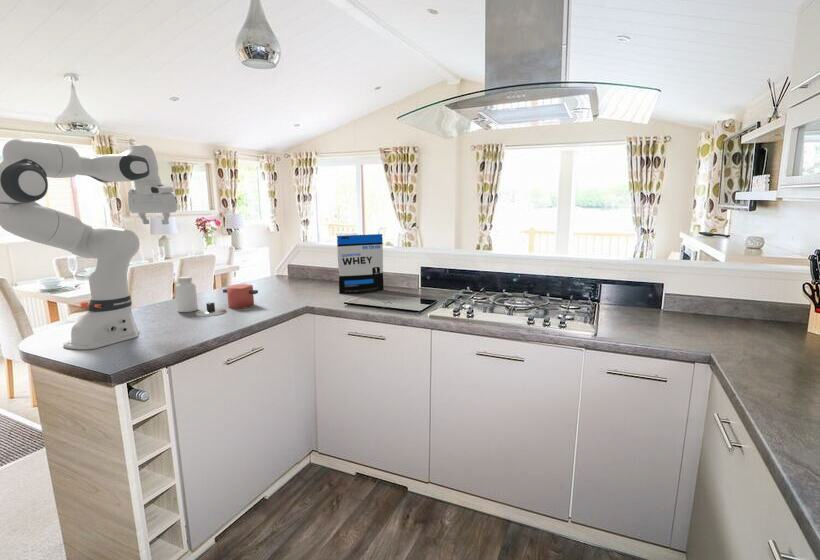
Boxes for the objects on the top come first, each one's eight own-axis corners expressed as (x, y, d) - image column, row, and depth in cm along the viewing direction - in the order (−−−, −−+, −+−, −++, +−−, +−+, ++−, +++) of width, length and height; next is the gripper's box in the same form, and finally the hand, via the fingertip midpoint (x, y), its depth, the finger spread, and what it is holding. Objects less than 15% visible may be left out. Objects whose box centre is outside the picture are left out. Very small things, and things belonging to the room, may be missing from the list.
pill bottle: (201, 308, 195) (198, 275, 192) (191, 312, 187) (187, 278, 185) (185, 308, 196) (181, 275, 193) (173, 312, 188) (170, 278, 185)
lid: (213, 317, 180) (212, 307, 179) (189, 316, 183) (188, 305, 182) (232, 311, 191) (231, 301, 191) (209, 309, 195) (208, 299, 194)
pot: (250, 309, 192) (248, 289, 190) (217, 307, 196) (216, 288, 195) (264, 304, 202) (263, 285, 201) (233, 302, 207) (232, 283, 205)
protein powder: (337, 292, 228) (334, 235, 222) (380, 288, 237) (379, 233, 232) (341, 295, 219) (339, 236, 214) (386, 291, 228) (385, 234, 223)
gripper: (120, 189, 167) (128, 225, 171) (163, 188, 162) (170, 225, 165) (134, 188, 173) (141, 222, 177) (176, 187, 167) (182, 223, 171)
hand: (156, 224), depth 171 cm, fingers open, 8 cm apart
